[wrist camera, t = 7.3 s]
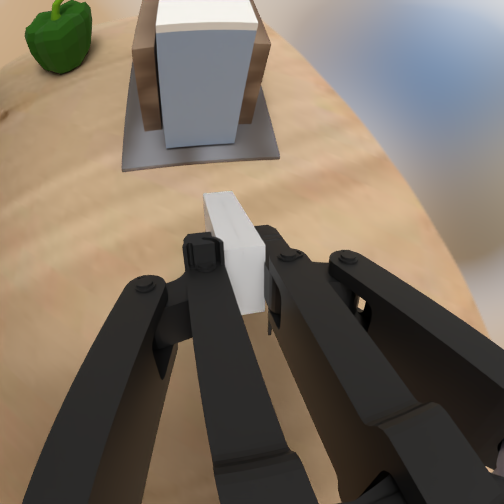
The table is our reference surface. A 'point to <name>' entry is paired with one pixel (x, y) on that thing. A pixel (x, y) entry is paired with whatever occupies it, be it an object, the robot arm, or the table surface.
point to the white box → (203, 68)
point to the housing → (150, 110)
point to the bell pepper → (61, 36)
